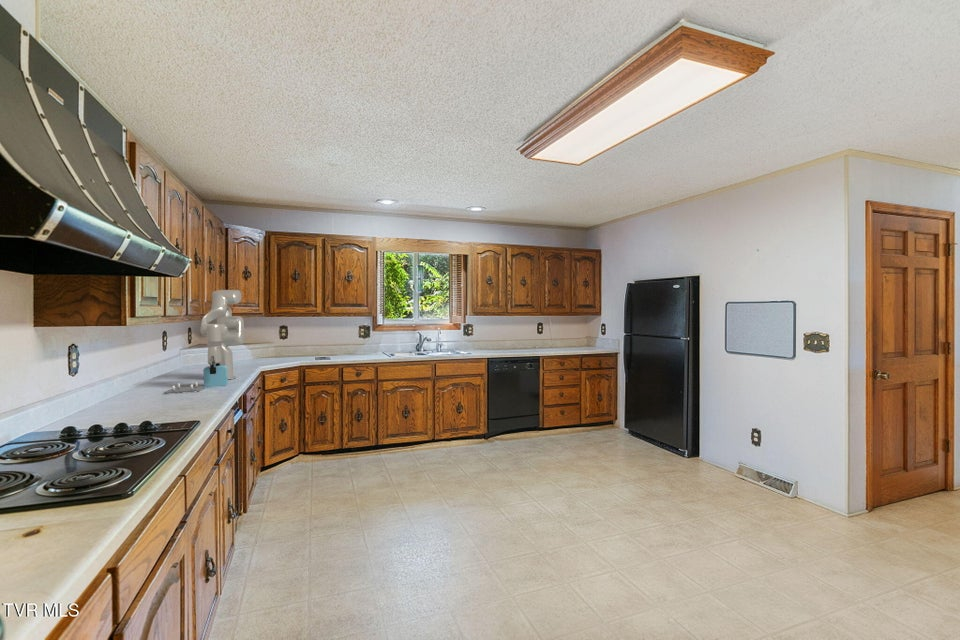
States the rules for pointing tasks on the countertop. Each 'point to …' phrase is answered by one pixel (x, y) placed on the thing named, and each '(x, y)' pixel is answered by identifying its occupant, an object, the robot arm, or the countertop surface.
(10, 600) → the countertop surface
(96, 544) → the countertop surface
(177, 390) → the pin tray
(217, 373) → the light blue rounded slab
